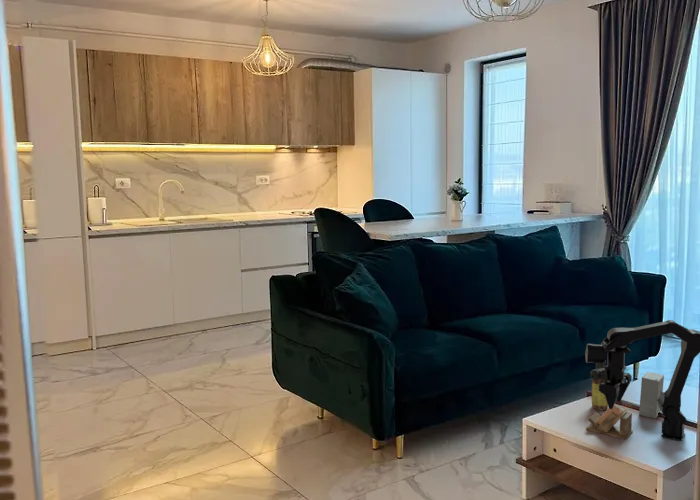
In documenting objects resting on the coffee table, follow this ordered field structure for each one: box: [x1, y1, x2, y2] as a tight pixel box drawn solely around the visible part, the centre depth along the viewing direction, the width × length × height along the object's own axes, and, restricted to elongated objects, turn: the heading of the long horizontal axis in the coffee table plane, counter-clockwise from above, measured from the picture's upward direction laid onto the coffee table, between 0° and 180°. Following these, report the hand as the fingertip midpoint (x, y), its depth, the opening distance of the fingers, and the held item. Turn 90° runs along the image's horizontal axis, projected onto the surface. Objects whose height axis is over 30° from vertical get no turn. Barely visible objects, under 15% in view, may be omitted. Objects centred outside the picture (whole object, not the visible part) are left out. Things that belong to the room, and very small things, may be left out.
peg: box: [596, 404, 622, 425], centre depth 233 cm, size 8×4×4 cm
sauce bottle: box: [591, 360, 609, 411], centre depth 255 cm, size 6×6×20 cm
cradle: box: [585, 406, 634, 440], centre depth 234 cm, size 14×8×9 cm, turn 50°
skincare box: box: [638, 371, 665, 419], centre depth 248 cm, size 8×7×16 cm
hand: (614, 405), depth 232 cm, fingers open, 9 cm apart
